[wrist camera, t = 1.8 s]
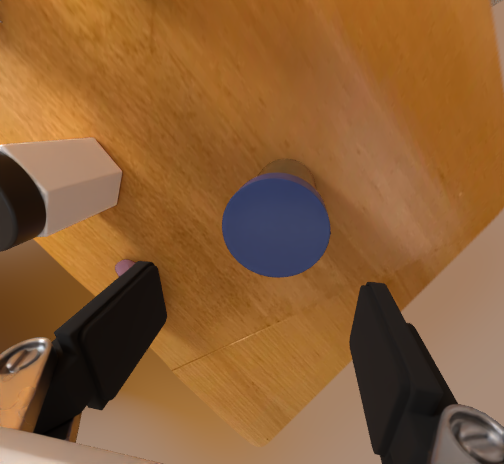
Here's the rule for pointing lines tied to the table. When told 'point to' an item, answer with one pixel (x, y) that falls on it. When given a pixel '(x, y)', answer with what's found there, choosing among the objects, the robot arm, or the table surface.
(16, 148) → the jar
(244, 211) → the lid
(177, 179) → the table surface
